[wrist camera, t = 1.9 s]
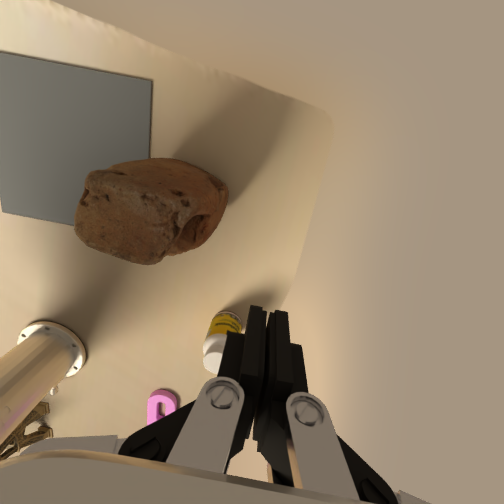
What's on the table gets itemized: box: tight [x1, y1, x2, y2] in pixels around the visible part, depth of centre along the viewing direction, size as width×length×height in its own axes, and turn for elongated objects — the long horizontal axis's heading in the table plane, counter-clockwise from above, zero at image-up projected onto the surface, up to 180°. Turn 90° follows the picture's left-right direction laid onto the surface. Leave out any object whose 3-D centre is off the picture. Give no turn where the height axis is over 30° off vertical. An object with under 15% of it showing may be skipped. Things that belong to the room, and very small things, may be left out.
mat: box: [0, 53, 152, 226], centre depth 40 cm, size 22×23×1 cm
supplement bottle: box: [203, 311, 242, 374], centre depth 44 cm, size 5×5×10 cm
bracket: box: [147, 390, 177, 426], centre depth 55 cm, size 13×6×7 cm, turn 172°
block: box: [74, 158, 228, 265], centre depth 32 cm, size 11×8×20 cm
